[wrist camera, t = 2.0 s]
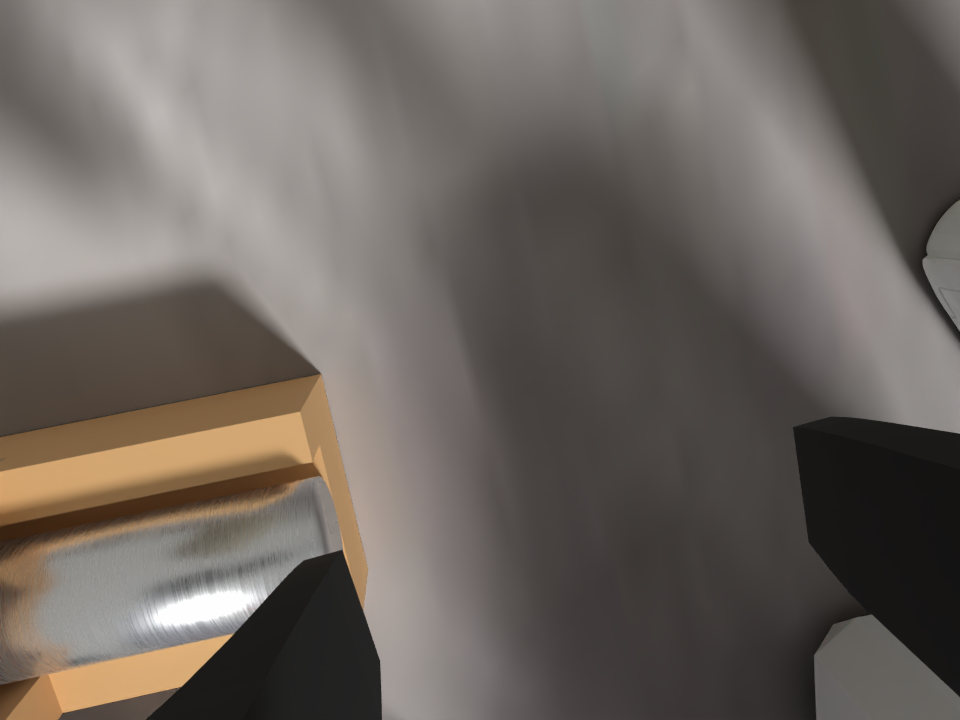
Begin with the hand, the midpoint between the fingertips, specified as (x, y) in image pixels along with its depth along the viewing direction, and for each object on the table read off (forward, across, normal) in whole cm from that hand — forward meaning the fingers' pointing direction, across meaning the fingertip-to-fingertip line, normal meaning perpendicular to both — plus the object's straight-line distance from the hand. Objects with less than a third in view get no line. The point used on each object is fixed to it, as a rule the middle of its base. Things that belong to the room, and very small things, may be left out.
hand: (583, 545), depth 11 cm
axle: (+6, +10, +1) cm, 12 cm away
